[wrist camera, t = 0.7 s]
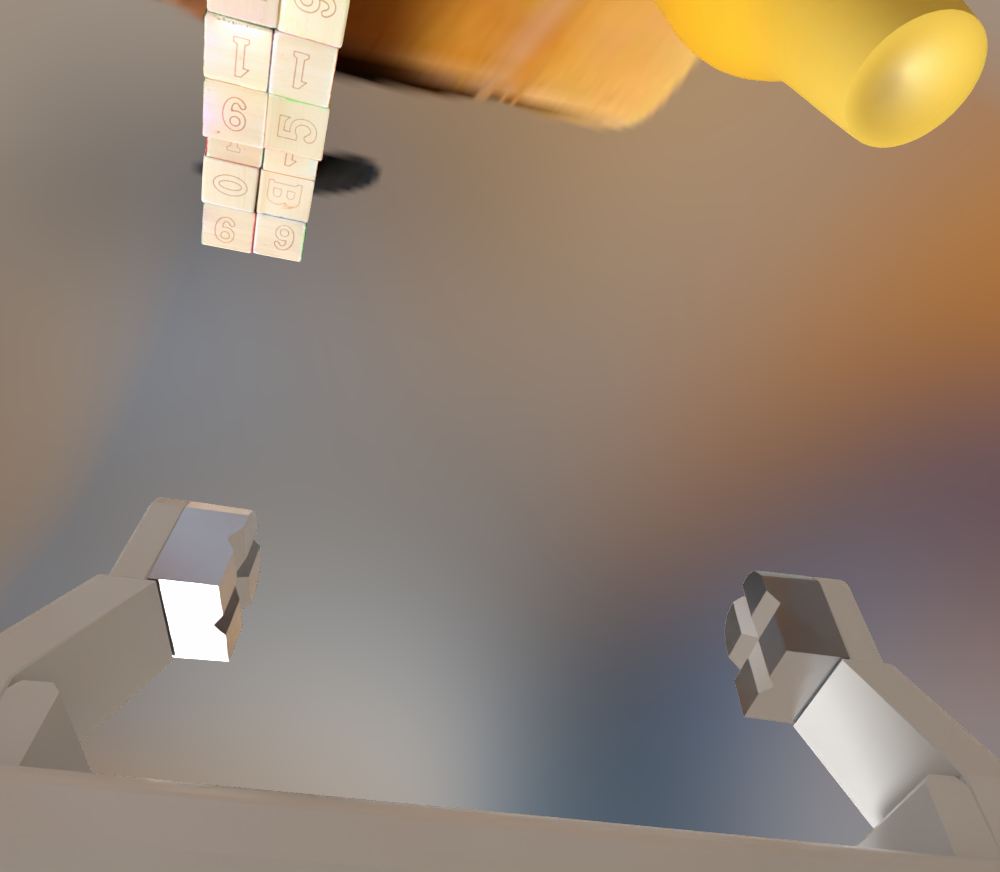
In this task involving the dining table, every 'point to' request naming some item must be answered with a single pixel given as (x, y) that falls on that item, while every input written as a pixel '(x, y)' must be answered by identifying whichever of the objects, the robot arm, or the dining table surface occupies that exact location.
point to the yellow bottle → (846, 56)
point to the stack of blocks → (266, 118)
